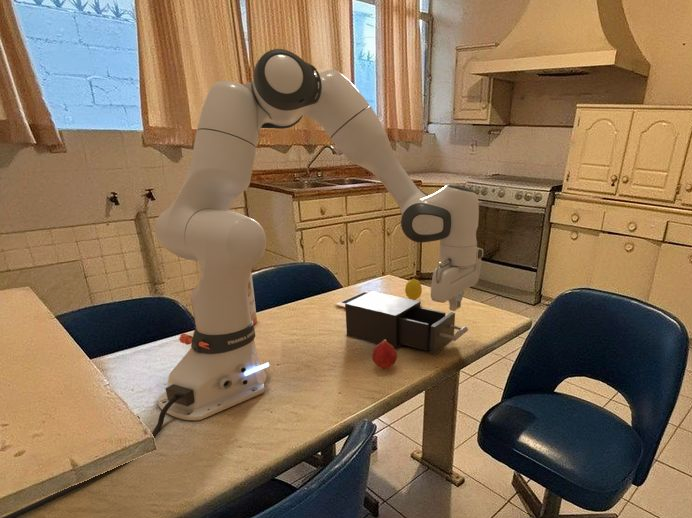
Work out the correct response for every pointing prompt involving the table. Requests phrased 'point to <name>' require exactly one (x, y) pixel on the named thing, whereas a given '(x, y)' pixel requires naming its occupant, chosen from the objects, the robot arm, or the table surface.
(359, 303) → the cabinet
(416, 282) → the lemon
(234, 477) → the table surface
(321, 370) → the table surface
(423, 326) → the drawer
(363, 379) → the table surface
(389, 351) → the onion
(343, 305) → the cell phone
